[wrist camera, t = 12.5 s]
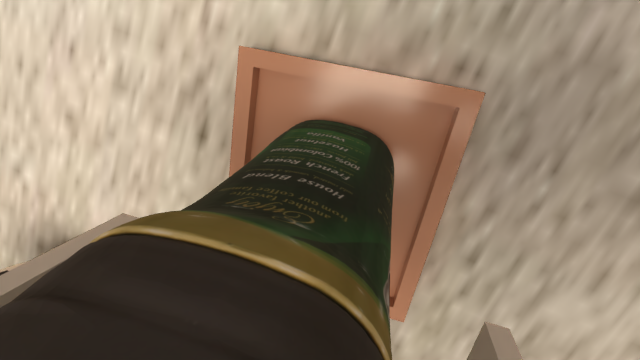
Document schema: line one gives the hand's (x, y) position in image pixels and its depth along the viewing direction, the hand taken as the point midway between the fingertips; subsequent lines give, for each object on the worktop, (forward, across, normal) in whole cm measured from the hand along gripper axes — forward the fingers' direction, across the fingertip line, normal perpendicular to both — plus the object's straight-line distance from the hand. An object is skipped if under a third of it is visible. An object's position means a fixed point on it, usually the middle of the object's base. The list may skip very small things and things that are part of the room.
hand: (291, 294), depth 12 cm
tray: (+11, +1, 0) cm, 11 cm away
